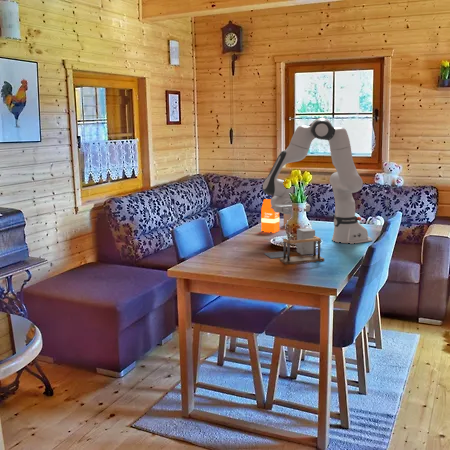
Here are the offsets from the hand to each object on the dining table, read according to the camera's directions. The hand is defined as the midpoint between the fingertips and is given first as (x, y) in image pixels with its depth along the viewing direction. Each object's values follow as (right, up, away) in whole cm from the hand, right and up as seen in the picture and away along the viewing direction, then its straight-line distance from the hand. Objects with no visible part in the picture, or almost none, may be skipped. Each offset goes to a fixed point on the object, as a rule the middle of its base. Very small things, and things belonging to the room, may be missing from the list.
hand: (297, 210), depth 295 cm
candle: (+6, -9, +64) cm, 65 cm away
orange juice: (-10, -12, +50) cm, 52 cm away
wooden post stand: (-1, -24, -22) cm, 33 cm away
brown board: (-1, -25, -22) cm, 34 cm away
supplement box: (+3, -23, -7) cm, 24 cm away
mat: (-12, -23, -11) cm, 28 cm away
